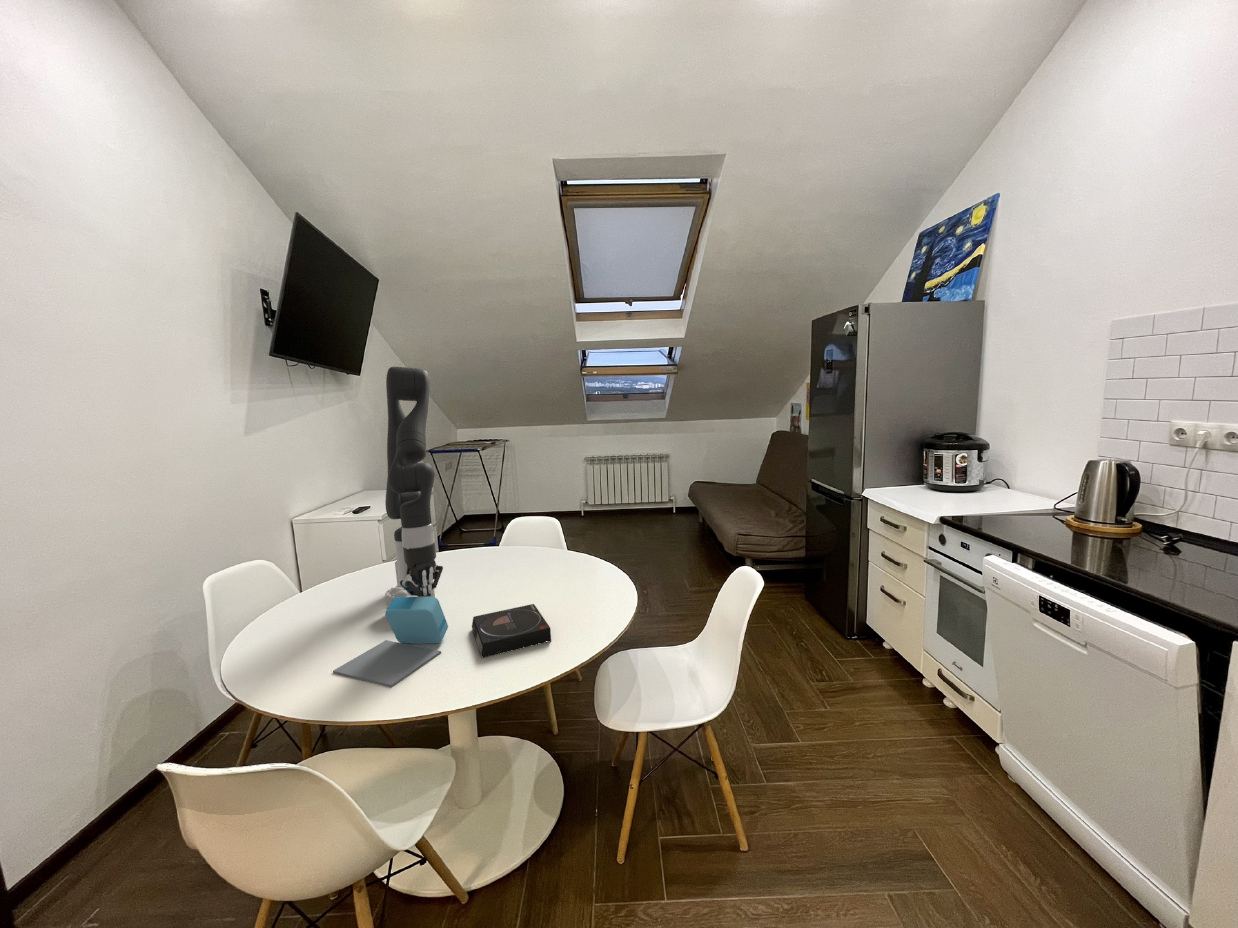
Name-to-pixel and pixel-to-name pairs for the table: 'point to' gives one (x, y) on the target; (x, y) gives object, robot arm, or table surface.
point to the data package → (417, 620)
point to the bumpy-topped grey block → (399, 594)
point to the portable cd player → (510, 630)
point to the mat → (387, 663)
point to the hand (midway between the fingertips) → (425, 608)
